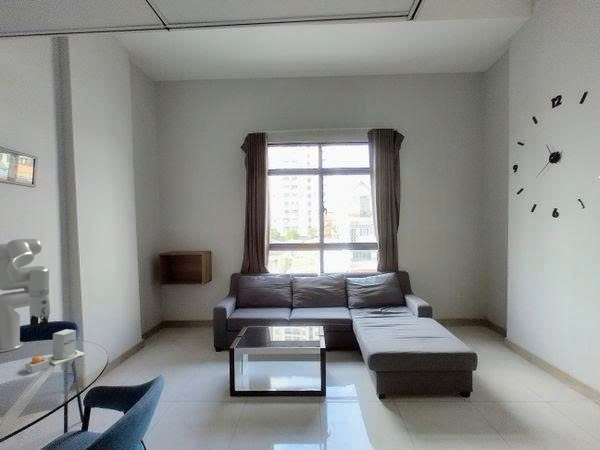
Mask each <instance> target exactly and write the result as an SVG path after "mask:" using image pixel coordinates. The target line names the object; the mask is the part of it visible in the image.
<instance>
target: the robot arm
mask: <svg viewBox="0 0 600 450" xmlns="http://www.w3.org/2000/svg"><path fill="white" fill-rule="evenodd" d="M42 249H43V245H42V243H41V241H40V240H39V239H37V238H25V239H24V238H20V239H19V238H18V239H12V240H10V241H8V242H7V243H0V291H10V292H6V293H1V294H0V353H4V352H10V351H14V350H17V349H20V348H21V347H23V346H24V341H20V340H21V339H20V338H21V330H20V329H21V315H20V314H19V313H18V312H17V311H16V309H21V308H26V307H29V327H34V326H35V327H36V326H38V325H39V331H42V330H46V329H48V328H49V318H50V317H49V316H50V315H51V306H50V304H51V303H50V297H49V296H50V270H49V268H47V267H46V266H43V265H38V266H37V265H35V266H28V265H29V264H31V263H32V262H33V261H34V260H35V256H36V255H38V254H40V253H41V251H42ZM22 289H23V290H22ZM13 290H18V291H13ZM11 291H12V292H11ZM39 320H40V321H39Z"/></svg>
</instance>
